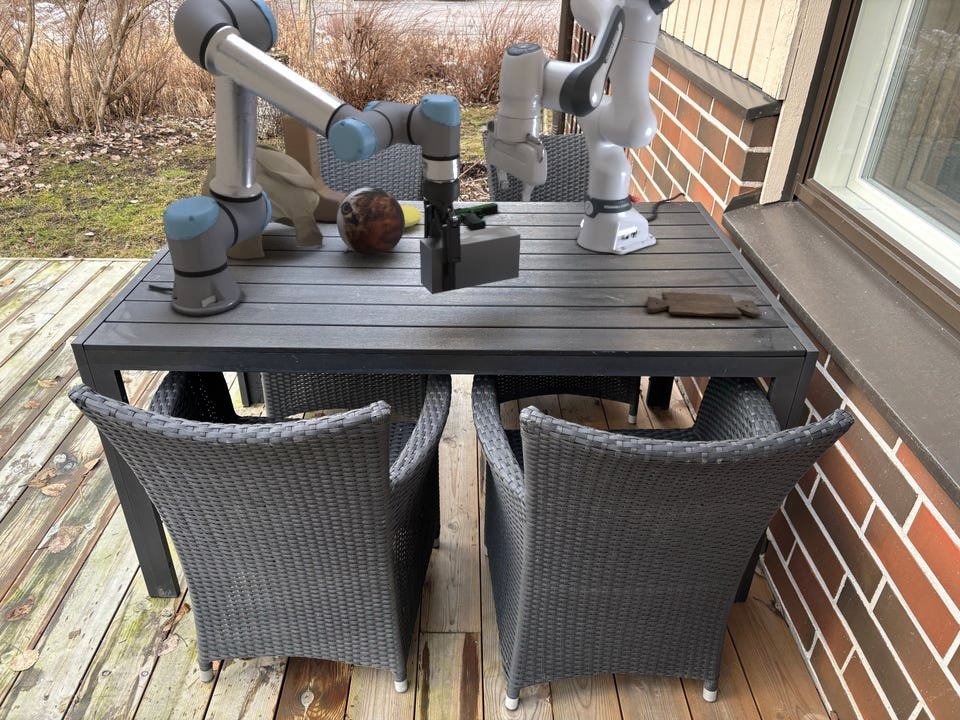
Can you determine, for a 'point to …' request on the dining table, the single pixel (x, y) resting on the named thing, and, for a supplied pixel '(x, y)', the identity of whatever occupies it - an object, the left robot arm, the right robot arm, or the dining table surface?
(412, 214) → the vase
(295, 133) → the decorative block
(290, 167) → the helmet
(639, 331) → the dining table surface
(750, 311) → the dark wooden board
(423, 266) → the box
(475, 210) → the handgun
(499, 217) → the dining table surface
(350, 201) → the marbled brown ball
